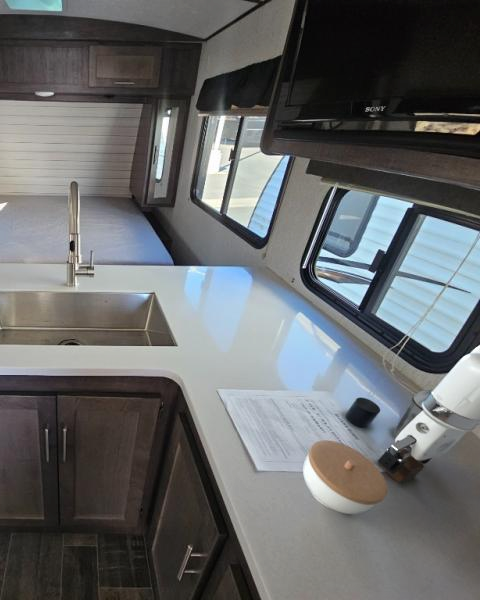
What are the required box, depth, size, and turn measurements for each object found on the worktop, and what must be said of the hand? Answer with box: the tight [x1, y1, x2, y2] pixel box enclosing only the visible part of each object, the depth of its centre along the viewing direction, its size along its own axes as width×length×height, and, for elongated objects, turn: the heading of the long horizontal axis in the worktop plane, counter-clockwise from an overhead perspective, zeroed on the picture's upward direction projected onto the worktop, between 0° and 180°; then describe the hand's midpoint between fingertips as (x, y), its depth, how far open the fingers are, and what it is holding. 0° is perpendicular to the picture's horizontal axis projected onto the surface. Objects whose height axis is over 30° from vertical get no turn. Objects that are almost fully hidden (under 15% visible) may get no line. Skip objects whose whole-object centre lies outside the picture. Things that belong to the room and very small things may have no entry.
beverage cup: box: [393, 389, 434, 438], centre depth 76 cm, size 7×7×20 cm
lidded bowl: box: [302, 439, 389, 515], centre depth 65 cm, size 13×13×11 cm
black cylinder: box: [345, 396, 381, 429], centre depth 83 cm, size 5×5×6 cm
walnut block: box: [378, 450, 426, 484], centre depth 72 cm, size 4×4×4 cm
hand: (401, 462), depth 71 cm, fingers open, 9 cm apart
